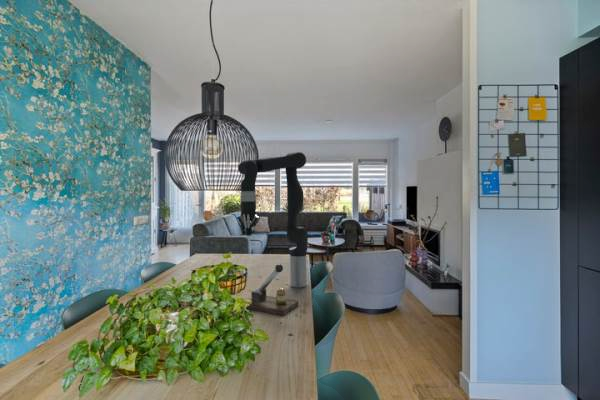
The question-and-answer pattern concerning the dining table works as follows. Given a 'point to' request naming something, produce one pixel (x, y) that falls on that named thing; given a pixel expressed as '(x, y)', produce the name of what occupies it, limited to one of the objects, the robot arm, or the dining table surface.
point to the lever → (270, 278)
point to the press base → (270, 304)
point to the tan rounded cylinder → (281, 297)
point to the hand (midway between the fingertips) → (248, 235)
